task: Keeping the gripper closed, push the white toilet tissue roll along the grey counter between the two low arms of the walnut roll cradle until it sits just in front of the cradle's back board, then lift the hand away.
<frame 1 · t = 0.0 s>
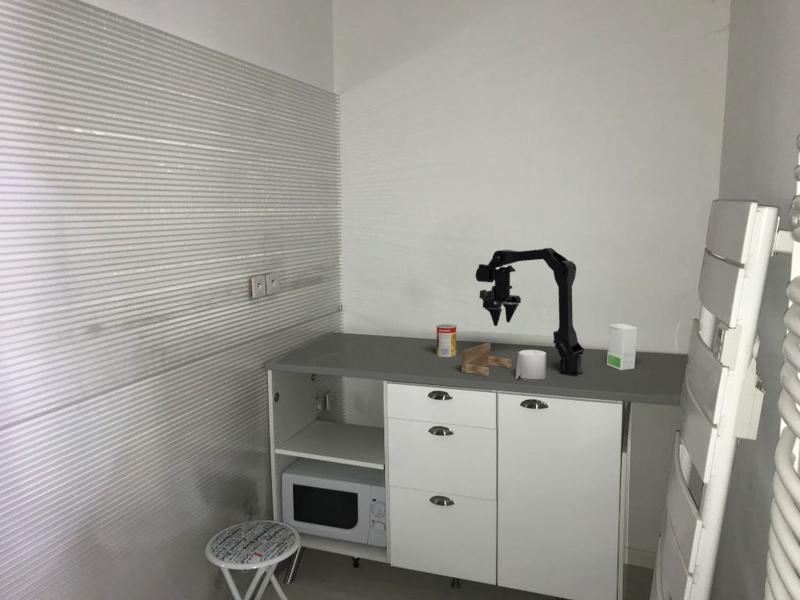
hand: (501, 324, 246), 15 cm above the countertop, tool pointing down, fingers open, 9 cm apart
skincare box: (621, 367, 238), on the countertop
toilet tissue: (529, 377, 226), on the countertop
roll cradle: (489, 370, 236), on the countertop
canned food: (446, 355, 261), on the countertop
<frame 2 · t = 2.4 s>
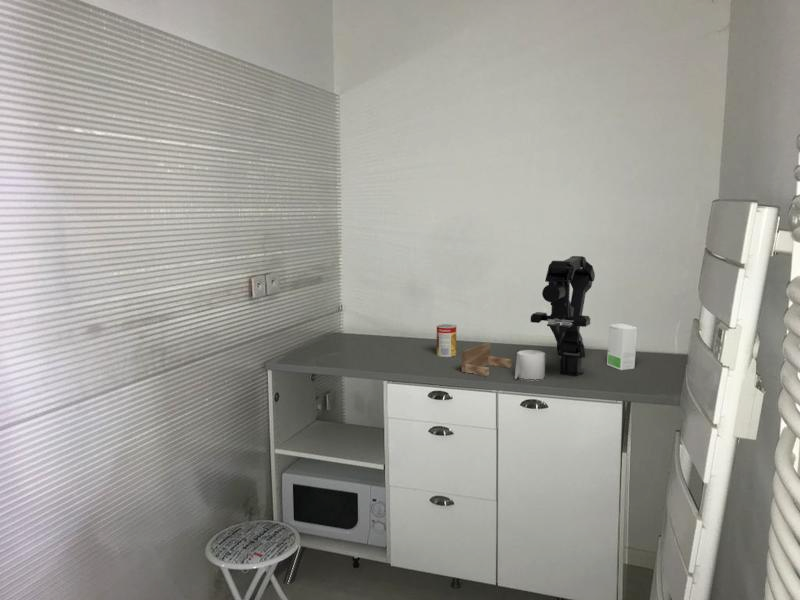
hand: (559, 344, 217), 13 cm above the countertop, tool pointing down, fingers closed
nothing on the countertop moved.
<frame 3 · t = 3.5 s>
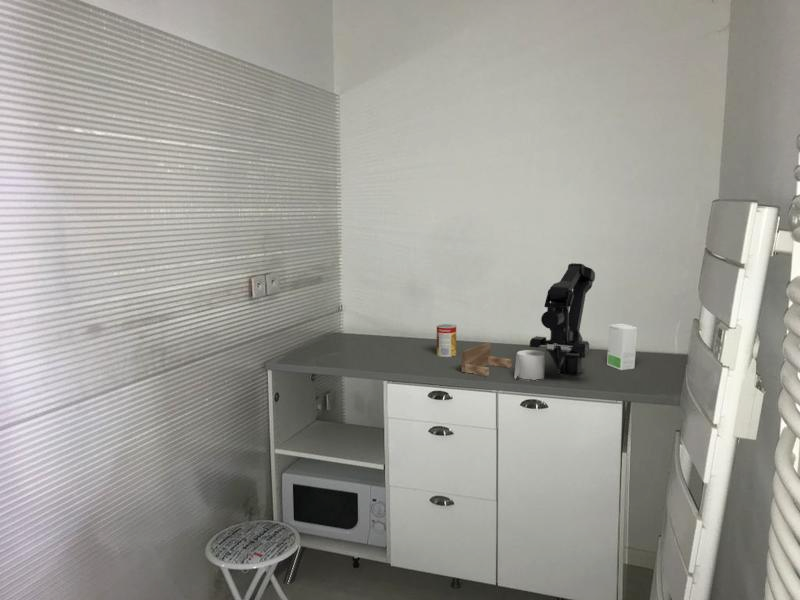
hand: (558, 369, 218), 5 cm above the countertop, tool pointing down, fingers closed
nothing on the countertop moved.
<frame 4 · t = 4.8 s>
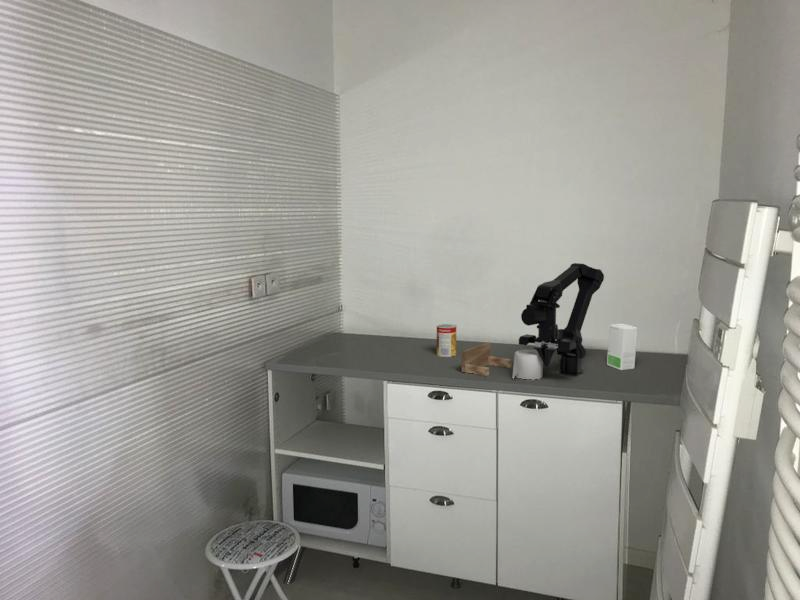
hand: (546, 367, 221), 5 cm above the countertop, tool pointing down, fingers closed
toilet tissue: (525, 377, 225), on the countertop, touching gripper
everything else where it was.
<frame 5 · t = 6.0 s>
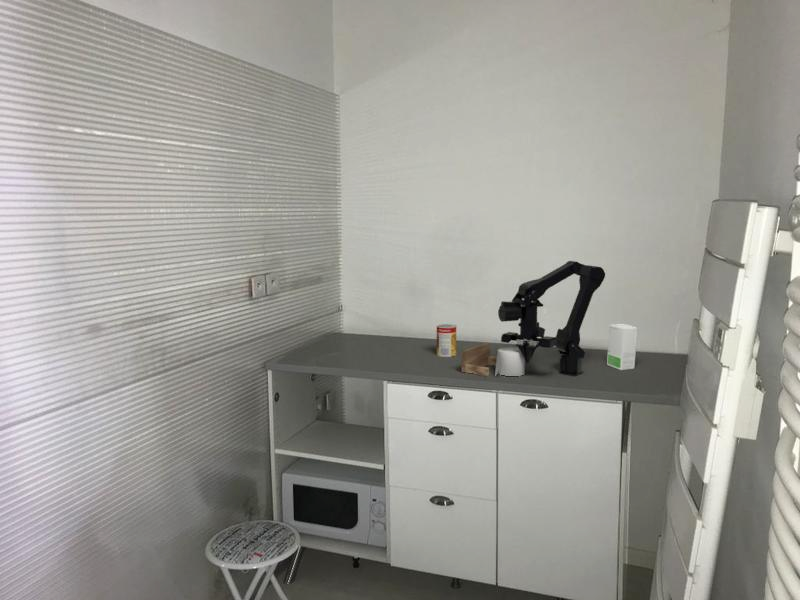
hand: (528, 364, 225), 5 cm above the countertop, tool pointing down, fingers closed
toilet tissue: (508, 374, 230), on the countertop, touching gripper
everything else where it was.
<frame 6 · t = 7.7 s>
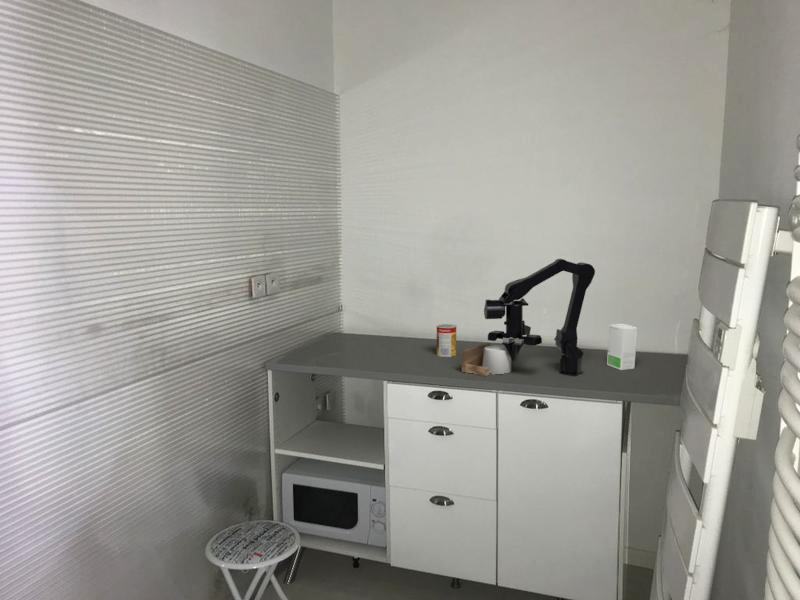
hand: (514, 361, 229), 5 cm above the countertop, tool pointing down, fingers closed
toilet tissue: (494, 372, 233), on the countertop, touching gripper, roll cradle
everything else where it was.
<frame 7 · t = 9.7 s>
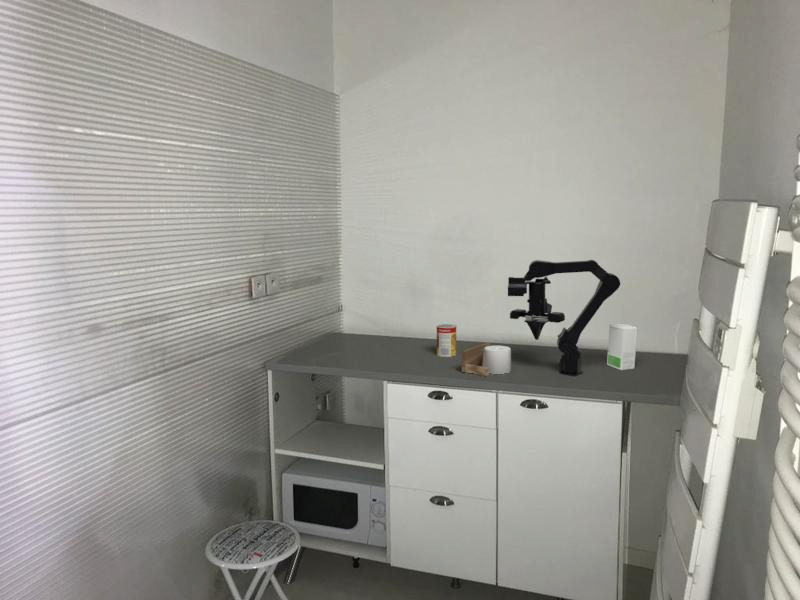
hand: (536, 339, 231), 12 cm above the countertop, tool pointing down, fingers closed
toilet tissue: (494, 372, 233), on the countertop
everything else where it was.
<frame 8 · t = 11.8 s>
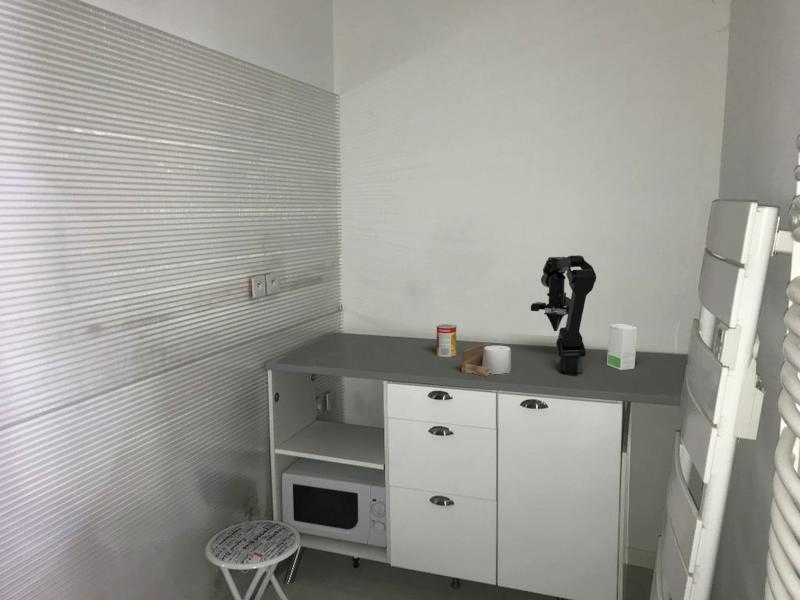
hand: (555, 330, 246), 12 cm above the countertop, tool pointing down, fingers closed
toilet tissue: (494, 372, 233), on the countertop, touching roll cradle
everything else where it was.
at the end: toilet tissue inside the target area on the roll cradle (1.0 cm from its centre), point 0.0 cm above the roll cradle's base; toilet tissue tilted 0°; toilet tissue moved 13.5 cm from its start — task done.
